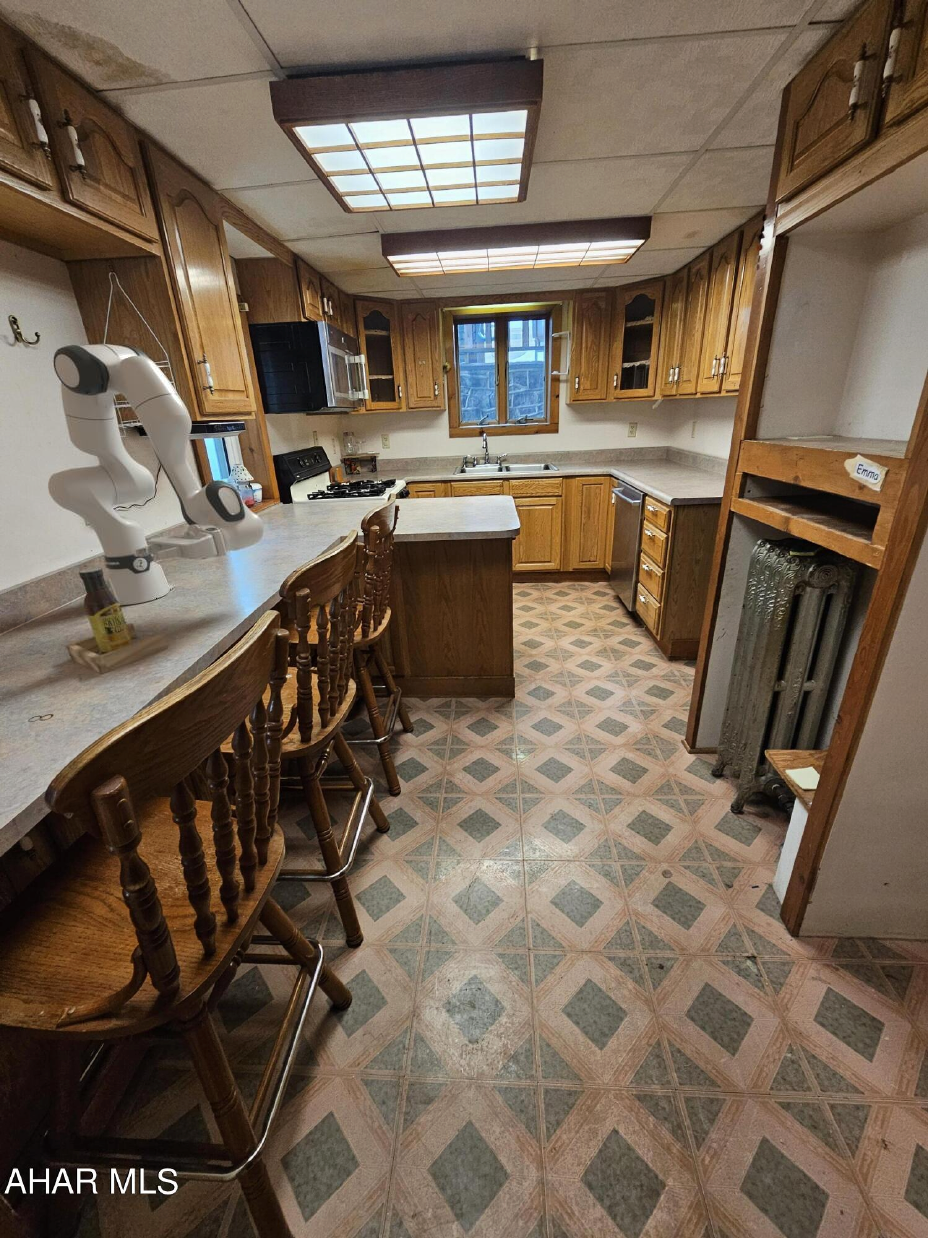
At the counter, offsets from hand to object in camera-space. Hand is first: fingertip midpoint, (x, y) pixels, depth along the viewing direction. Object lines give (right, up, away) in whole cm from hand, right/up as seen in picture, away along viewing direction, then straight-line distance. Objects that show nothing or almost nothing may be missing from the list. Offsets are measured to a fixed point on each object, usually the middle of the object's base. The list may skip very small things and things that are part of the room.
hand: (147, 554), depth 112 cm
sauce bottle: (-5, -23, -1) cm, 24 cm away
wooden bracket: (-5, -23, -1) cm, 23 cm away
